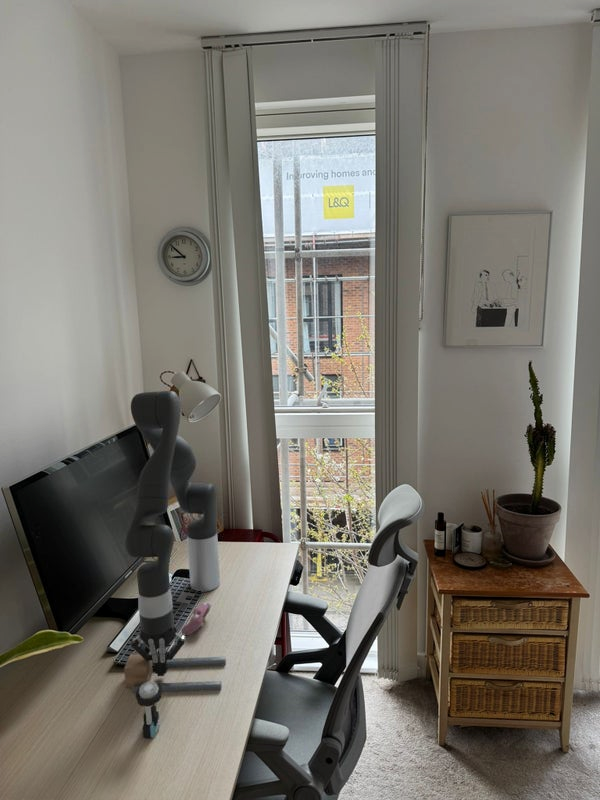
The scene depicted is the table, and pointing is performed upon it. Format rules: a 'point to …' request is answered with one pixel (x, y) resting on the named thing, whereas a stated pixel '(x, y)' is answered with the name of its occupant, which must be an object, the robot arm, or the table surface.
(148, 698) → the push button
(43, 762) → the table surface
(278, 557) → the table surface
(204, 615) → the pink irregular rounded piece
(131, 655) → the walnut block
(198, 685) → the rail channel
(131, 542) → the robot arm
